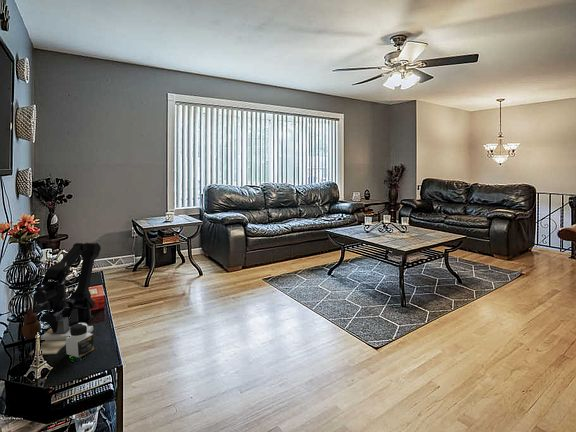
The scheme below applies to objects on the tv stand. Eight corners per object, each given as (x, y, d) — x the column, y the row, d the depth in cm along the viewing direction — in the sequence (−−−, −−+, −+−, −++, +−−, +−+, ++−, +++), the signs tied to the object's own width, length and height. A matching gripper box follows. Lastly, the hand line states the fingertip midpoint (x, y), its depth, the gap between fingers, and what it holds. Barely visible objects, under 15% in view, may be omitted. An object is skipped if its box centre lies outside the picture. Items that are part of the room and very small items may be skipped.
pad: (43, 342, 148) (43, 341, 148) (68, 341, 150) (68, 340, 150) (29, 355, 139) (29, 353, 139) (55, 353, 140) (55, 352, 140)
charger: (57, 333, 157) (56, 313, 155) (69, 333, 157) (67, 313, 156) (52, 337, 153) (51, 317, 151) (64, 337, 153) (63, 317, 152)
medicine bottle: (78, 358, 137) (76, 330, 136) (66, 354, 140) (64, 327, 138) (94, 349, 144) (92, 322, 142) (82, 346, 146) (80, 319, 145)
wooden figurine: (30, 342, 149) (27, 309, 146) (19, 340, 150) (16, 308, 148) (44, 334, 155) (41, 303, 153) (34, 333, 156) (31, 302, 154)
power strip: (52, 331, 159) (52, 325, 158) (93, 329, 161) (93, 324, 160) (41, 340, 150) (40, 335, 149) (84, 339, 152) (84, 333, 152)
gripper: (50, 287, 160) (52, 319, 163) (25, 303, 142) (28, 338, 144) (75, 287, 162) (77, 318, 164) (53, 302, 143) (56, 337, 146)
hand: (60, 327), depth 154 cm, fingers open, 9 cm apart
